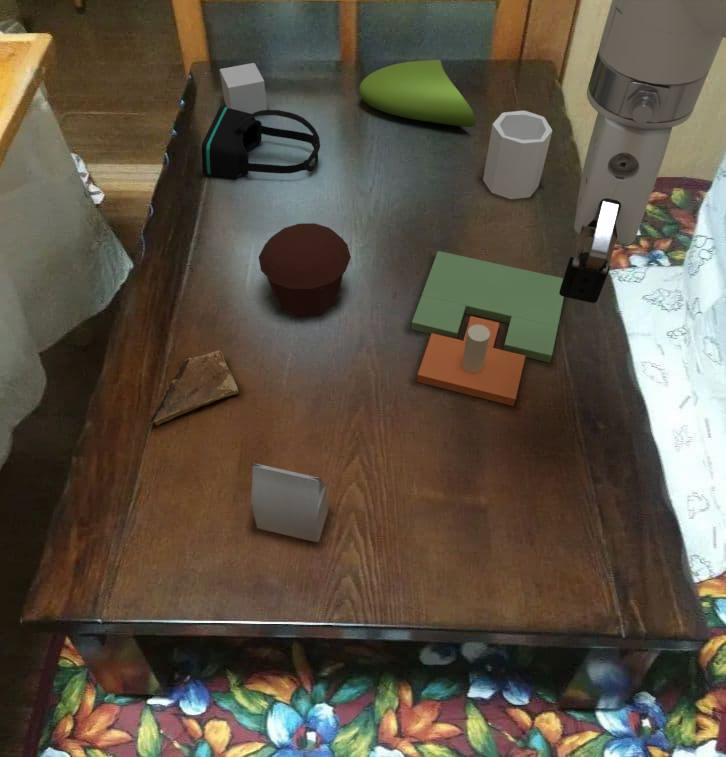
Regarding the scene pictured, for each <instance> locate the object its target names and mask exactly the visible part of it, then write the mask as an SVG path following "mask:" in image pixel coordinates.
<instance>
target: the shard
mask: <svg viewBox="0 0 726 757" xmlns="http://www.w3.org/2000/svg"><path fill="white" fill-rule="evenodd" d="M239 393H240V392H239V388H238V385H237V384H236V381H235V379H234V376H233V374H232V371H231V370H230V369H229V367H228V365H227V363H226V360H225V358H224V354H223V353H222V351H220V350H214V351H212V352H209V353H206V354H204V355H200V356H195V357H187V356H186V357H185V358H184V360H183V361H182V364H181V365H180V366H179V368H178V370H177V372H176V373H175V375H174V377H173V378H172V380H171V382H170V383H169V385H168V387H167V389H166V391H165V392H164V395H163V396H162V398H161V400H160V403H159V405H158V408H156V411H155V412H154V413H153V415H152V417H151V419H150V421H149V424H150V423H151V424H152V423H153V424H155V426H160V425H161V424H163V423H165V422H166V423H167V422H168V421H171V420H173V419H174V418H176V417H179V416H182V415H184V414H187V413H189V412H192V411H194V410H196V409H198V408H200V407H202V406H207V405H209V404H211V403H214V402H215V401H218V400H221V399H225V398H228V397H231V396H235V395H238V394H239Z"/></svg>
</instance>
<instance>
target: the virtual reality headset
mask: <svg viewBox="0 0 726 757" xmlns="http://www.w3.org/2000/svg"><path fill="white" fill-rule="evenodd" d="M260 116H261V117H262V116H277V117H281V118H287V119H291V120H294V121H296V122H298V123H300V124H302V125H303V126H304V127H305V128H307V129H308V131H310V133H311V134H310V133H306V132H300V131H295V130H290V129H289V130H288V129H282V128H276V127H269V126H265V125H262V124H263V123H262V122H261V120H260V119H259V120H258V119H256V117H260ZM262 135H265V136H270V137H276V138H282V139H288V140H289V139H290V140H295V141H300V142H305V143H307V144H310V145H311V146H312V148H313V150H312V152H311V153H310V155H309V156H308V158H307V159H305V160H303V161H302V162H301V163H297V164H292V165H291V164H289V165H279V164H278V165H277V164H269V163H267V164H266V163H252V162H249V152H250V151H251V150H253V149H255V148H257V147H258V146H260V145H261V143H262ZM320 140H321V139H320V136H319V133H318V132H317V130H316V128H315V127H314V126H313V124H311V123H310V122H309V121H308V120H307V119H306V118H304V117H303V116H300V115H299V114H296V113H293V112H289V111H285V110H279V109H267V110H261V111H258V112H255V113H253V114H250V113H246V112H242V111H239V110H235V109H231V108H227V106H223V105H220V107H219V108H218V110H217V112H216V115H215V117H213V120H212V123H211V124H210V127H209V129H208V131H207V132H206V134H205V137H204V139H203V140H202V144H201V164H202V165H201V166H202V167H201V168H202V173H203V174H206V175H212V176H217V177H223V178H229V179H236V178H238V177H239V176H241V175H243V176H248V174H249V172H254V173H266V174H267V173H268V174H295V173H299V172H302V171H307V172H308V173H311V172H313V171H314V170H315V168H316V166H317V164H318V162H319V152H320V149H321V141H320ZM313 160H314V165H311V163H312V162H313Z"/></svg>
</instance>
